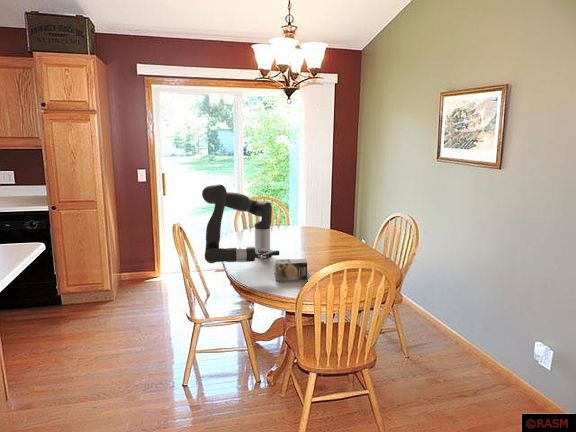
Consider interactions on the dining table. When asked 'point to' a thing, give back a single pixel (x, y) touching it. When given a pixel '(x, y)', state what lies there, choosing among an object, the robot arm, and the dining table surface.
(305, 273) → the coffee box
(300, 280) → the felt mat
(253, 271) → the dining table surface
